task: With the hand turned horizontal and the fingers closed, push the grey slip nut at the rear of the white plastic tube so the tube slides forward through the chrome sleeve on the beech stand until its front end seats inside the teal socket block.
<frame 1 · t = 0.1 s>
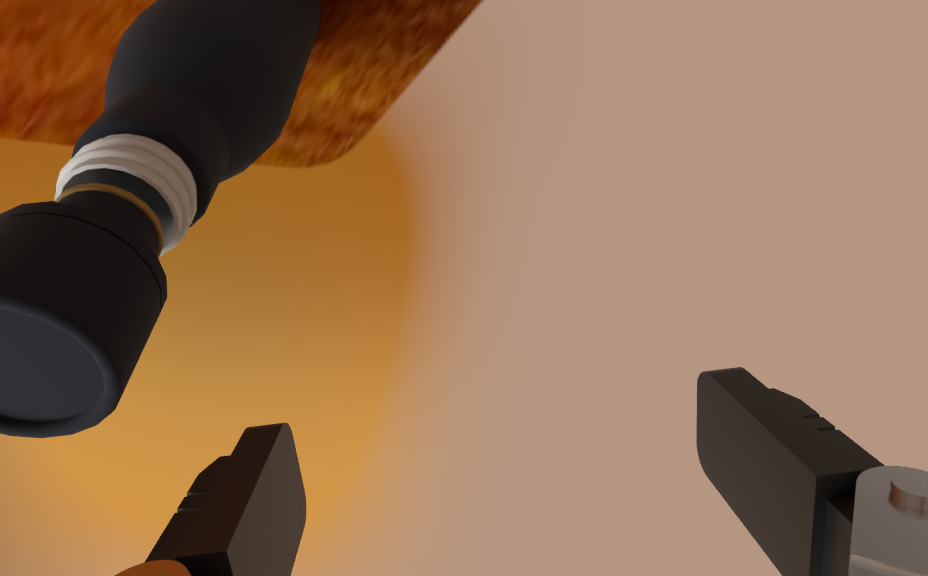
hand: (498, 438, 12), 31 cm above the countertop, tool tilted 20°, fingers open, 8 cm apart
wine bottle: (265, 1, 35), on the countertop
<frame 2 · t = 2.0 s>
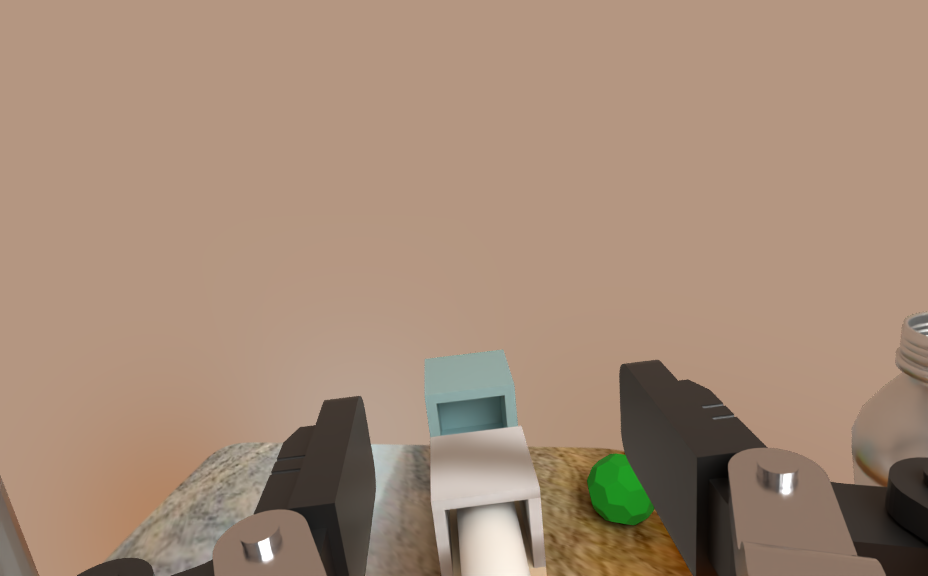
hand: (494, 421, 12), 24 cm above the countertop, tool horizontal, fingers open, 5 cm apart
polyhedron: (623, 518, 45), on the countertop
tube: (492, 555, 30), point 9 cm above the countertop, slide at 0.0 cm
socket: (482, 512, 47), on the countertop
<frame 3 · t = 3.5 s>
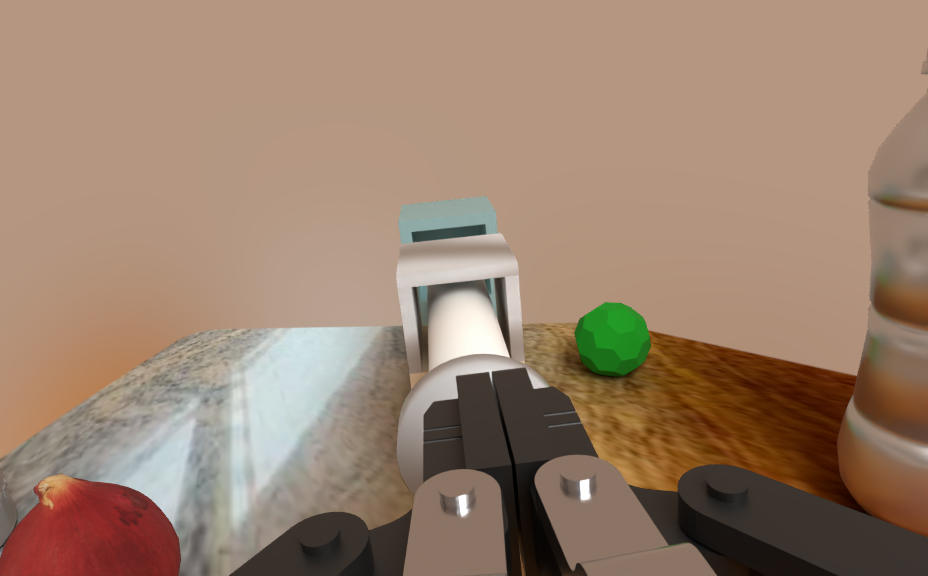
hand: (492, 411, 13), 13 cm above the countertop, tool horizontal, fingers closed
sleeve stand: (475, 459, 33), on the countertop
polyhedron: (612, 374, 42), on the countertop
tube: (464, 336, 27), point 9 cm above the countertop, slide at 0.0 cm
plastic bottle: (916, 513, 27), on the countertop
socket: (462, 372, 44), on the countertop
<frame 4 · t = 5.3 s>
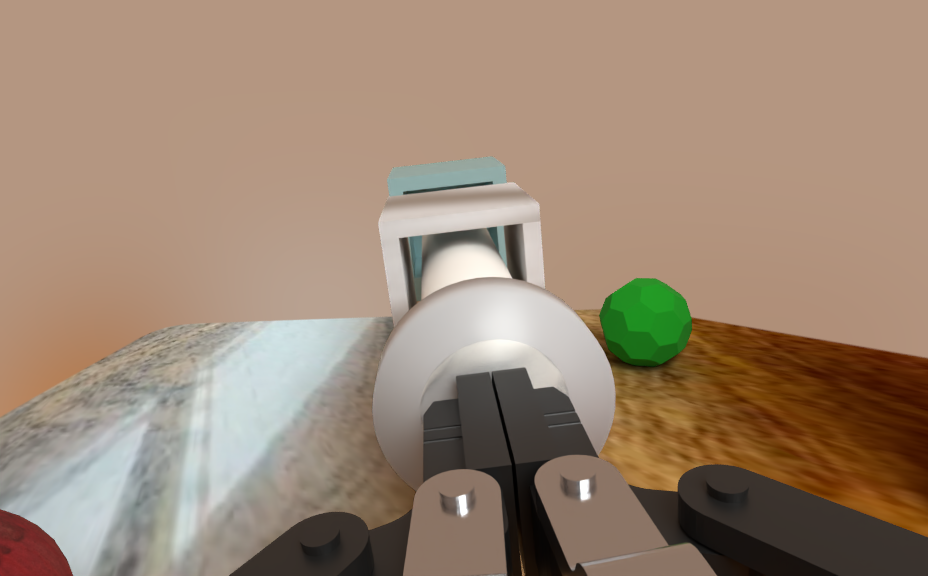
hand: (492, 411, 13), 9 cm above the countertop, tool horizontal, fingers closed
sleeve stand: (484, 467, 26), on the countertop
polyhedron: (645, 364, 35), on the countertop
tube: (466, 288, 22), point 9 cm above the countertop, slide at 1.5 cm, touching gripper
socket: (467, 365, 37), on the countertop
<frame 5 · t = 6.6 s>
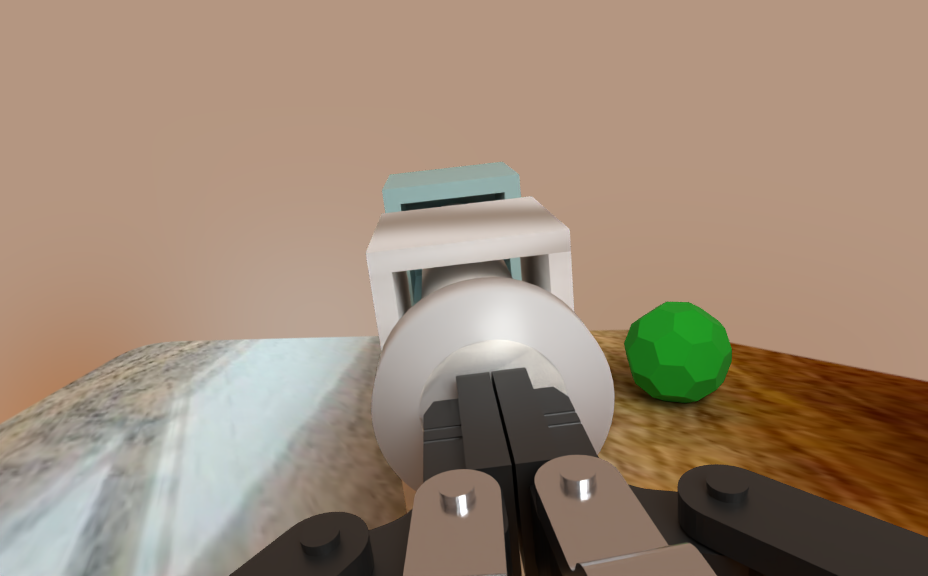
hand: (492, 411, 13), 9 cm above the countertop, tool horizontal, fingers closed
sleeve stand: (495, 535, 22), on the countertop
polyhedron: (676, 398, 31), on the countertop
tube: (466, 287, 22), point 9 cm above the countertop, slide at 6.0 cm, touching gripper
socket: (473, 397, 33), on the countertop
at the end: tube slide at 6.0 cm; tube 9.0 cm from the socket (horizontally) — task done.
